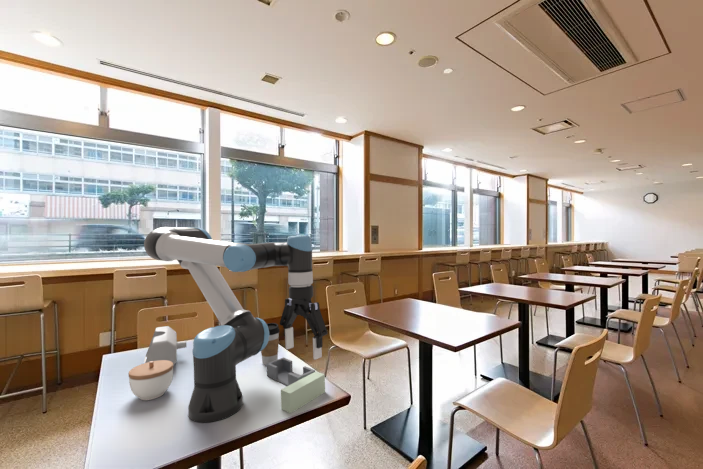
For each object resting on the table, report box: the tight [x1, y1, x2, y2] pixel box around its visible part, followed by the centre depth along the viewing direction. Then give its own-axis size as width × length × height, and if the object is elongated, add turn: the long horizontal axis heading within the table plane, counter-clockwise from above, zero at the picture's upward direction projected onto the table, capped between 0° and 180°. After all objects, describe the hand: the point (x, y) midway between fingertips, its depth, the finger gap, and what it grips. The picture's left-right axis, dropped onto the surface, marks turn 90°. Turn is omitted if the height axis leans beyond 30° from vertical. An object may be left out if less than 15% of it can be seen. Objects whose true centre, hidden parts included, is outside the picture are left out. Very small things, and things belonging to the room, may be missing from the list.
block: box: [280, 371, 326, 414], centre depth 101 cm, size 15×4×6 cm, turn 143°
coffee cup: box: [260, 322, 281, 366], centre depth 131 cm, size 8×8×15 cm
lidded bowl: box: [128, 360, 174, 401], centre depth 107 cm, size 13×13×11 cm
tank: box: [143, 325, 187, 366], centre depth 134 cm, size 25×16×12 cm, turn 28°
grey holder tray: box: [266, 357, 316, 387], centre depth 115 cm, size 8×18×4 cm, turn 48°
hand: (303, 353), depth 101 cm, fingers open, 13 cm apart
